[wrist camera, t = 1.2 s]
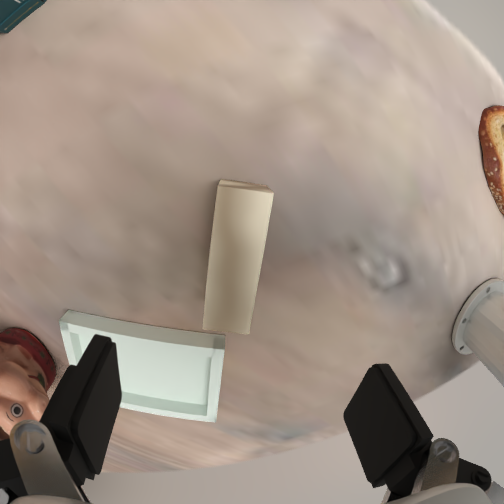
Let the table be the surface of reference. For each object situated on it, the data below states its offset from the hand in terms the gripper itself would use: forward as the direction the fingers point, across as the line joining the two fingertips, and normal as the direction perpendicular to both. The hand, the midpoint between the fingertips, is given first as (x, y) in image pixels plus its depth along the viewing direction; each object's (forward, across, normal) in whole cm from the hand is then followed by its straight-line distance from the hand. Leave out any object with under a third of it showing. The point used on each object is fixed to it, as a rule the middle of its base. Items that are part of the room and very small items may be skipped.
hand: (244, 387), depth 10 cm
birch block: (+18, 0, +1) cm, 18 cm away
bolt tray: (+18, +8, +18) cm, 26 cm away
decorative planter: (+19, +28, +22) cm, 40 cm away
